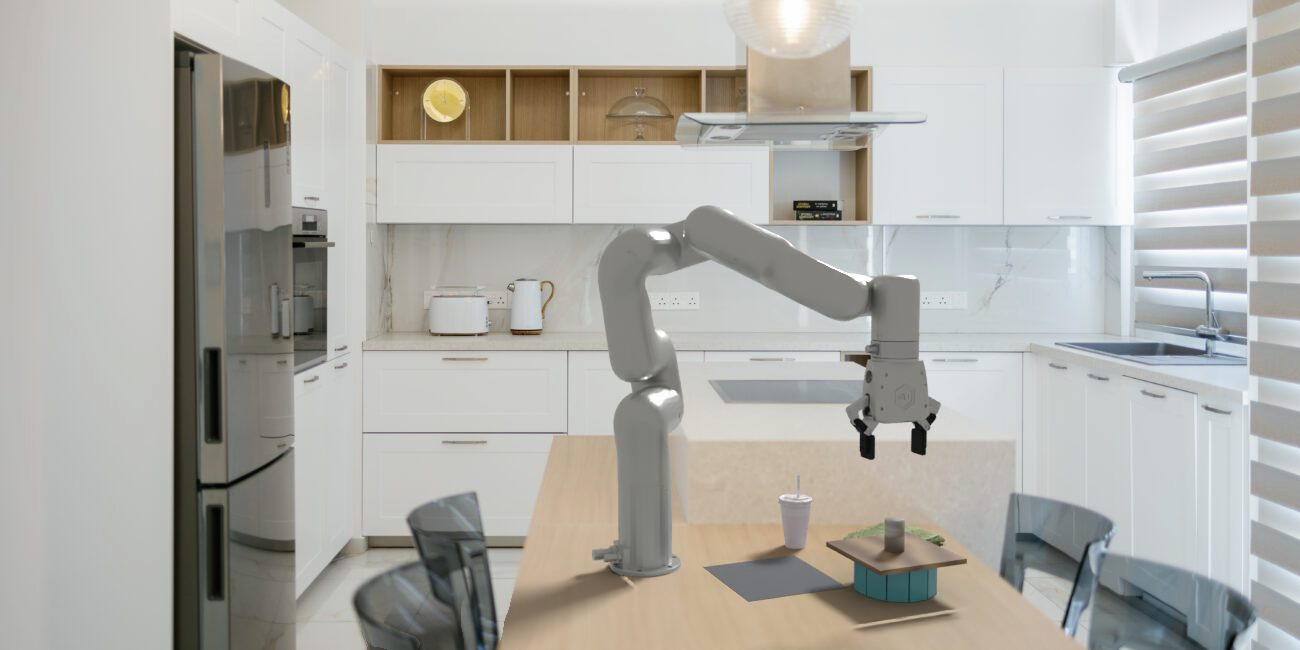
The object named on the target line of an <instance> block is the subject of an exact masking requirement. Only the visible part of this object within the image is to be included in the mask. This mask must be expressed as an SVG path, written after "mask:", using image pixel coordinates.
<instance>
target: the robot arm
mask: <svg viewBox="0 0 1300 650" xmlns="http://www.w3.org/2000/svg"><path fill="white" fill-rule="evenodd" d="M599 260H600V261H599V262H598V268H597V285H598V293H599V296H600V302H601V308H602V315H603V317H602V318H603V323H604V330H605V337H606V343H607V351H608V355H609V356H608V358H609V362H610V363H609V364H610V366H611V367H610V368H611V369H612V371H613V373H614V375H615V376H616V377H617V378H618V379H619V380H621V381H622V382H623V381H624V382H626V383H628V384H629V383H630V385H631V386H630V387H631V392H630V393H628V394H627V395H626V396H624V398H622V399H621V400H620V402H619V403H618V404H617V406H616V409H615V411H614V416H613V423H612V424H613V435H614V441H615V449H616V460H617V461H616V462H617V469H616V470H617V506H618V507H617V511H618V512H617V516H618V517H617V521H618V522H617V523H618V527H617V528H618V533H617V534H618V539H617V540H616V539H615V540H613V545H609V546H608V548H603V547H602V548H595V549H594V548H593V549H592V550H591V558H592V560H593V561H601V560H602V561H603V563H609V568H610V569H611V571H612V572H614V573H615V574H618V575H621V576H622V577H623V576H625V577H627V576H630V577H642V578H644V577H646V578H647V577H650V578H651V577H660V576H664V575H668V574H671V573H675V572H676V571H678V570H679V569H681V566H682V560H681V558H680V557H679V556H678V555H676V554H675V553H673V512H672V511H673V504H672V503H673V500H672V499H673V495H672V492H673V491H672V490H673V489H672V488H673V486H672V485H673V484H672V483H673V481H672V457H671V450H670V443H669V442H670V441H669V434H670V433H672V432H674V430H676V428H678V427H679V425H680V424H681V423H682V420H683V417H684V412H685V405H684V404H685V403H684V396H683V388H682V384H681V376H680V371H679V365H678V360H677V353H676V349H675V346H674V343H673V342H672V340H671V337H670V336H669V335H668V334H667V333H666V332H665V331H664V330H662V329H661V328H659V327H656V326H655V325H654V319H653V313H652V305H651V300H650V297H649V295H648V291H647V288H646V279H647V278H648V277H649V276H651V277H652V276H663V275H667V274H668V275H669V274H671V273H674V272H678V271H680V270H683V269H687V268H690V267H693V266H695V265H699V264H701V263H705V262H707V261H713V262H715V263H717V264H718V265H722V266H723V267H725V268H728V269H730V270H732V271H734V272H736V273H738V274H740V275H742V276H744V277H746V278H748V279H750V280H752V281H754V282H756V283H759V284H761V285H762V286H763V287H765V288H768V289H769V290H771V291H775V292H776V293H779V294H780V295H782V296H785V297H786V298H787V299H789V300H791V301H792V302H793V301H794V302H796V303H798V304H800V305H802V306H803V307H806V308H808V309H810V310H812V311H814V312H816V313H817V314H820V315H822V316H825V317H826V318H829V319H832V320H834V321H839V322H849V321H853V320H855V319H858V318H863V317H870V318H871V320H870V322H871V324H870V327H871V329H870V331H871V332H870V335H871V336H870V339H871V340H870V343H869V345H868V344H867V345H866V346H865V347H864V350H865V354H870V359H867V362H866V365H865V370H864V371H865V372H864V377H863V382H862V383H863V385H862V393H861V395H862V397H861V398H858V399H857V400H855V401H854V402H852V403H851V404H849V405H848V406H846V408H845V413H846V414H847V417H848V419H849V420H850V422H849V423H850V424H851V426H852V427H854V428H855V430H856V432H857V433H859V452H860V457H861V458H863V459H866V460H869V461H874V460H875V459H876V436H875V435H874V434H873V432H874V431H875V429H876V428H877V426H878V425H879V424H887V425H888V424H902V423H912V425H913V426H914V427H912V428H911V431H910V434H911V435H910V436H911V438H910V452H911V453H913V454H916V455H919V456H926V453H927V446H928V444H927V442H928V436H927V435H928V432H929V431H930V430H931V429H932V428H931V426H932V425H933V423H934V422H935V421H936V419H937V415H938V414H939V411H940V408H941V402H940V401H938V400H937V399H935V398H932V397H931V396H929V387H928V377H927V371H926V367H925V366H926V365H925V362H924V359H921V358H920V312H921V309H920V306H921V303H920V302H921V283H920V281H919V278H918V277H916V276H914V275H910V274H881V275H876V276H875V275H867V274H866V275H865V274H859V273H854V272H853V273H851V272H850V273H849V272H845V271H843V270H840V269H837V268H836V267H833V266H831V265H829V264H827V263H825V262H823V261H820V260H818V259H817V258H814V257H812V256H810V255H809V254H806V253H805V252H804V251H801V250H800V249H798V248H797V247H795V246H794V245H793V244H792V243H791V242H790V241H789V240H787V239H785V238H784V237H782V236H781V235H778V234H776V233H775V232H772V231H770V230H768V229H766V228H763V227H761V226H758V225H757V224H754V223H752V222H750V221H748V220H746V219H744V218H741V217H739V216H736V215H735V214H734V213H733V212H732V211H730V210H728V209H727V208H724V207H720V206H715V205H701V206H698V207H696V208H694V209H693V210H692V211H690V213H689V214H688V215H687V216H686V218H685V219H682V220H680V221H677V222H673V223H670V224H667V225H664V226H660V227H653V226H636V227H632V228H629V229H627V230H625V231H623V232H621V233H620V234H618V235H617V236H616V237H615V238H613V239H612V240H611V241H610V242H609V244H608V245H607V246H606V248H605V249H604V250H603V253H602V254H601V257H600V259H599ZM860 411H861V412H862V413H861V414H862V419H861V418H860V415H859V412H860Z"/></svg>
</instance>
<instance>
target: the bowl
mask: <svg viewBox="0 0 1300 650" xmlns="http://www.w3.org/2000/svg"><path fill="white" fill-rule="evenodd" d="M852 576H853V579H852V580H853V588H854V589H853V590H855V591H856V592H858V593H860V594H862V595H863V596H864V597H868V598H872V599H876V600H880V601H883V602H886V601H887V602H896V603H914V602H915V603H916V602H920V601H922V602H923V601H926V600H929V599H931V598H932V597H933V596H935V595H937V593H938V591H937V590H938V568H933V569H926V570H919V571H912V572H905V573H897V574H890V575H883V576H880V575H878V574H876V573H874V572H872V571H870V570H869V569H867V568H865V567H863V566H861V565H859V564H858V563H856V562H854V561H853V575H852Z"/></svg>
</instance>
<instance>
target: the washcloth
mask: <svg viewBox="0 0 1300 650" xmlns="http://www.w3.org/2000/svg"><path fill="white" fill-rule="evenodd" d="M884 531H885V521H884V522H880V523H877V524H875V525H873V526H872V525H871V526H870V527H867V528H864V529H860V530H856V531H854V532H851V533H848V534H847V535H846V536H844V537H843V539H842V540H844V539H852V538H860V537H868V536H876V535H884ZM905 532H908V533H911V534H913V535H915V536H917V537H919V538H922V539H924V540H926V541H928V542H931V543H933V544H935V545H937V546H939V545H940V544H942V543H945V541H946V539H945V537H943V536H942V535H940V534H939V533H936V532H932V531H928V530H926V529H924V528H921V527H918V526H915V525H905Z"/></svg>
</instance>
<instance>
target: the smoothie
mask: <svg viewBox="0 0 1300 650" xmlns="http://www.w3.org/2000/svg"><path fill="white" fill-rule="evenodd" d="M813 503H814V502H813V497H812V496H810V495H807V494H802V493H801V474H797V475H796V493H787V494H782V495H780V496H778V504H779V505H780V514H781V521H782V530H783V538H784V546H785V548H788V549H791V550H802V549H805V548H806V546H807V538H808V530H809V522H810V517H811V516H810V515H811V507H812V505H813Z"/></svg>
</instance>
